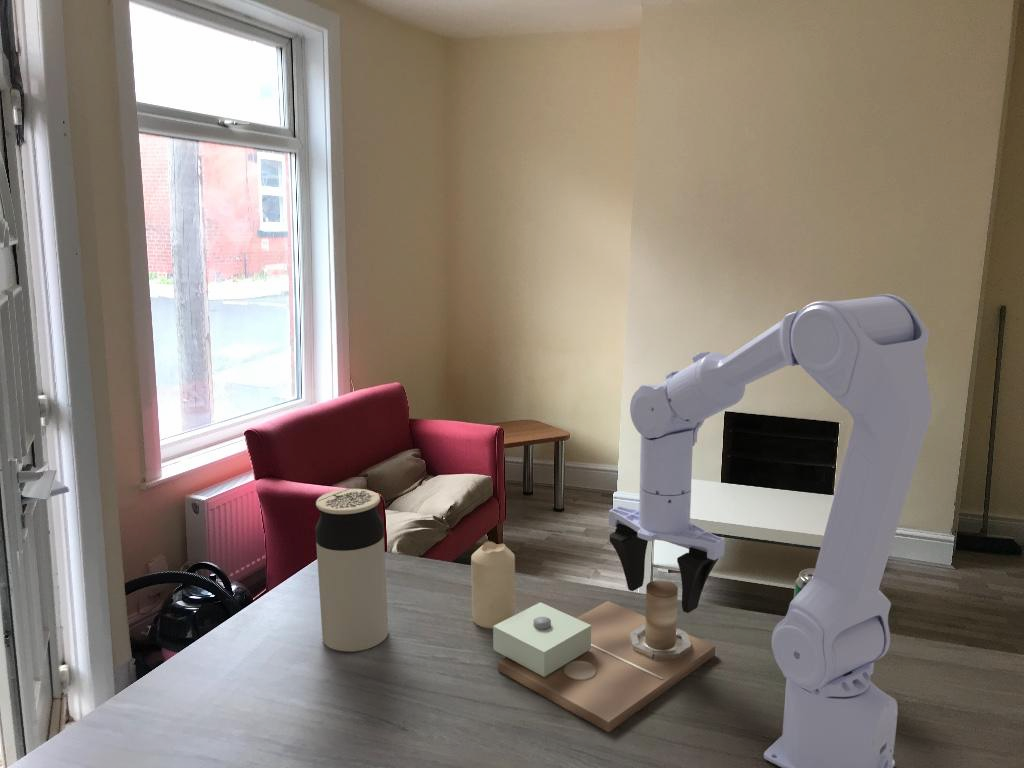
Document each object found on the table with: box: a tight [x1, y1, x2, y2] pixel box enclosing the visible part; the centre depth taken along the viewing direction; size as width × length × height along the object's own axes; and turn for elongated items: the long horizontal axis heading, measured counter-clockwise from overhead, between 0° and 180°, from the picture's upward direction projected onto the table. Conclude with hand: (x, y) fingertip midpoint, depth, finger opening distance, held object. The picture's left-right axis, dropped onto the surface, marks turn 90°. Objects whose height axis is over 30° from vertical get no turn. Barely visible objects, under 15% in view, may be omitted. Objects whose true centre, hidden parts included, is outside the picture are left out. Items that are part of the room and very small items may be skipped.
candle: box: [470, 541, 516, 630], centre depth 104 cm, size 6×6×10 cm
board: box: [497, 600, 716, 733], centre depth 95 cm, size 16×20×1 cm
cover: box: [492, 602, 591, 677], centre depth 95 cm, size 8×8×4 cm
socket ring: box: [630, 625, 691, 659], centre depth 97 cm, size 7×7×1 cm
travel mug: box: [315, 488, 389, 653], centre depth 99 cm, size 8×8×18 cm
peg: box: [645, 579, 679, 650], centre depth 96 cm, size 4×4×7 cm
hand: (662, 598), depth 95 cm, fingers open, 7 cm apart
